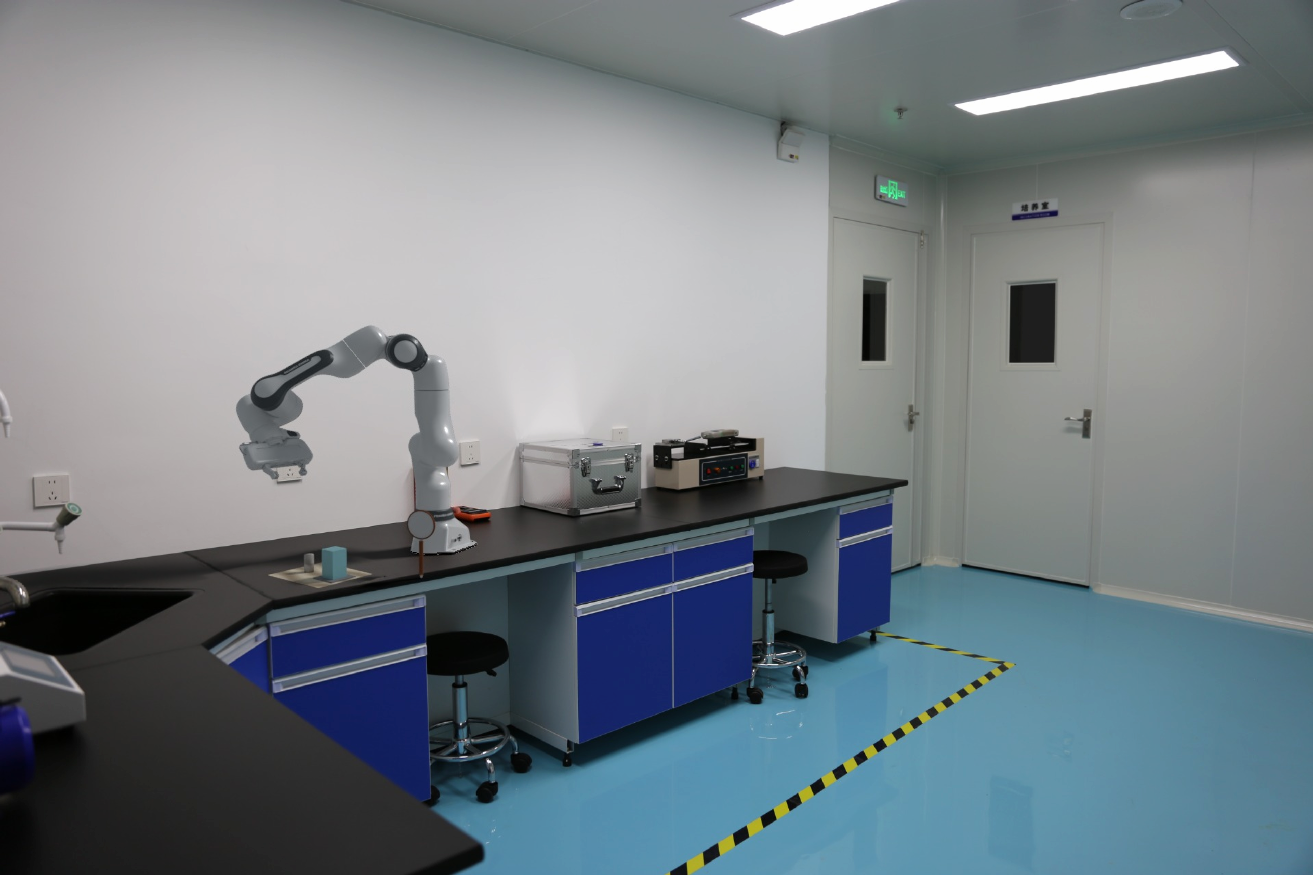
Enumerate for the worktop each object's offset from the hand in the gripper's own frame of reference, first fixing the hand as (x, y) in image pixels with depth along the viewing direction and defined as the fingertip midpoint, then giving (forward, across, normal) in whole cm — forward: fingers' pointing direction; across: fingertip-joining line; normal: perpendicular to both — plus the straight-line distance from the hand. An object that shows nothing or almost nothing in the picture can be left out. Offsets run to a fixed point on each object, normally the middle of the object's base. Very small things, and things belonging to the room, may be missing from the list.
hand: (290, 476), depth 249 cm
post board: (+32, -4, +6) cm, 33 cm away
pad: (+36, -4, +1) cm, 36 cm away
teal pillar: (+35, -4, +1) cm, 36 cm away
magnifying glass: (+47, +14, -8) cm, 50 cm away
